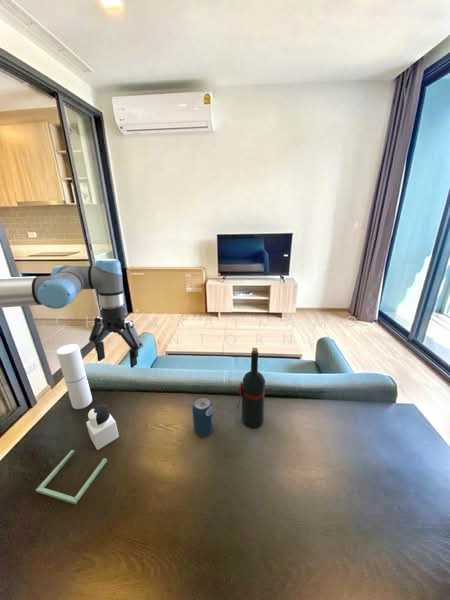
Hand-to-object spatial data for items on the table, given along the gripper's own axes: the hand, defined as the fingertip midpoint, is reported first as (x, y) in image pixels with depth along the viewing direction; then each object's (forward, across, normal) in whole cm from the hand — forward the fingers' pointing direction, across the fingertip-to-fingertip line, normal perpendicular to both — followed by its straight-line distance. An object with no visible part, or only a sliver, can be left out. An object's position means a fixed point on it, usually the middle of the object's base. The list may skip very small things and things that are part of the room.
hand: (117, 362), depth 89 cm
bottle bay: (+24, -1, +23) cm, 34 cm away
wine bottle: (+20, -47, -10) cm, 52 cm away
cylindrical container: (+22, +19, -1) cm, 29 cm away
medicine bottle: (+23, -1, +10) cm, 25 cm away
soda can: (+21, -33, -2) cm, 39 cm away
